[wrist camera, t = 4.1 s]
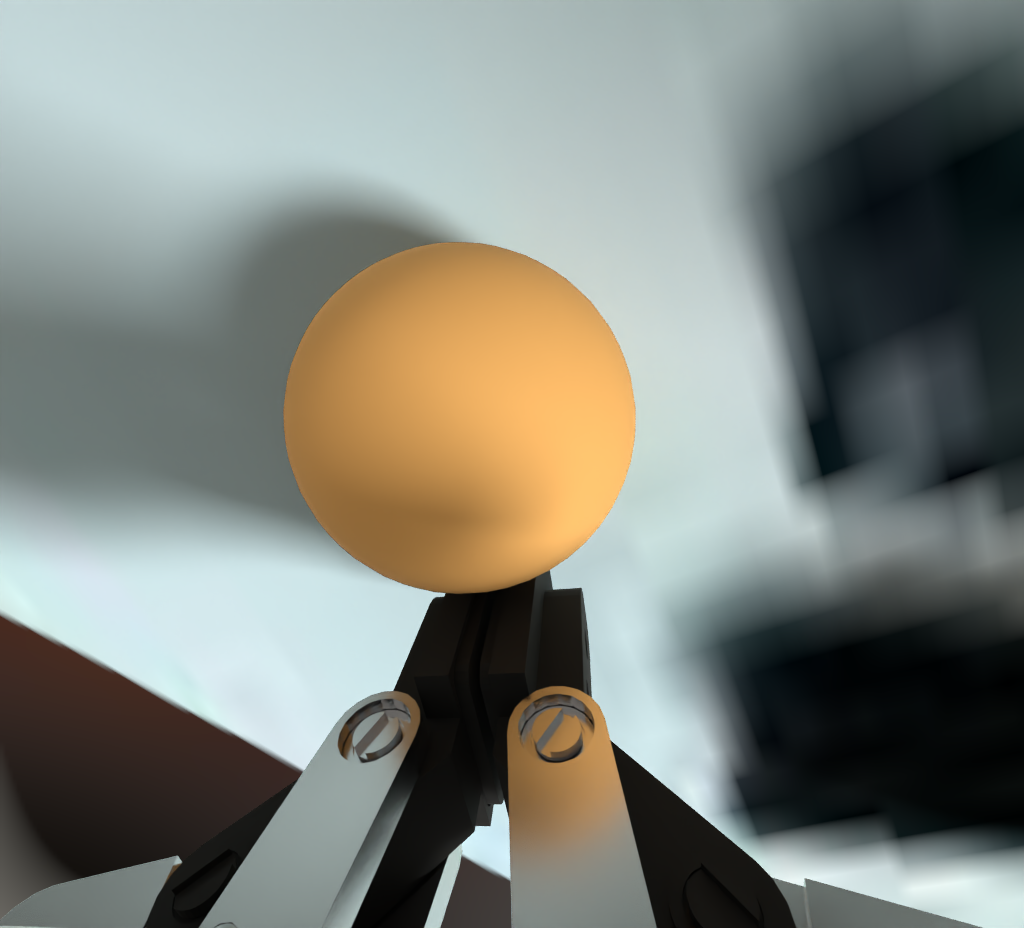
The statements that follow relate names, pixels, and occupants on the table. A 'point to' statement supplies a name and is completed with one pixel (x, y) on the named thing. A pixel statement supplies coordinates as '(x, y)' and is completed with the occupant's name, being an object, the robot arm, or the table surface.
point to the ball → (459, 417)
